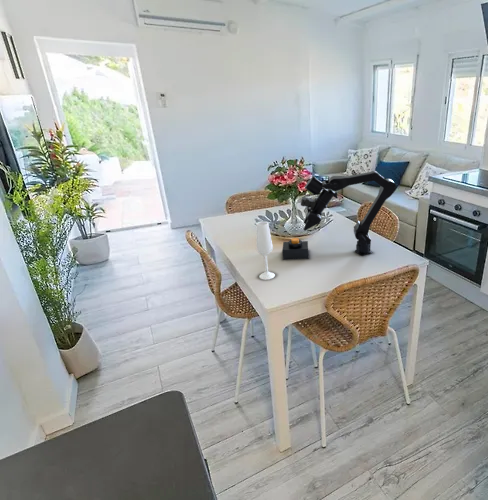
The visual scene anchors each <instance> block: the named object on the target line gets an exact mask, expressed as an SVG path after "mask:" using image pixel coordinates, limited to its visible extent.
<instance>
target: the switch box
mask: <svg viewBox="0 0 488 500" xmlns="http://www.w3.org/2000/svg"><path fill="white" fill-rule="evenodd" d="M281 251H282V260H283V261H289V260H290V261H291V260H309V258H310V257H309V241H308V240H302V239H299V243H297V244H293V243H292V241H291V239H290V240H288V241H283V243H282V250H281Z"/></svg>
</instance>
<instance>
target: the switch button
mask: <svg viewBox="0 0 488 500" xmlns="http://www.w3.org/2000/svg"><path fill="white" fill-rule="evenodd" d="M290 240H291V241H292V243H293V244H297V243H299V240H300V238H298V237H293V238H291V239H290Z"/></svg>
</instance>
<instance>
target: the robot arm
mask: <svg viewBox="0 0 488 500" xmlns="http://www.w3.org/2000/svg"><path fill="white" fill-rule="evenodd" d="M369 182H375V183H376V184H377V185H379V190H378V193H377V196H376V197H375V199H374V201H373V203H372V204H371V205H370V207H369V209H368V210H367V212H366V214H365V216H364V217H363V219H362V220H360V221H359V220H357V221H356V223H355V224H354V225H353V234H354V237H355V239H356V240H357V241H356V244H355V250H354V253H357V254H358V255H360V256H361V257H363V256H367V255H370V254H373V251H371V246H372V245H371V242H372V239H371V237H370V235H369V233H370V228H371V225H372V224H373V221H374V220H375V218H376V216H377V215H378V213H379V212H380V210H381V208H382V207H383V205H384V203H385V202H386V201H387V200H388V199H389V198H390V197H391V196H392V195H393V194H394V193H395V192H396V190H397V184H396V183H395V182H394V181H393V180H392V179H391V178H386V177H384V176H383V175H381V174H380V173H379V172H378V171H376V170H371V171H368V172H363V173H358V174H353V175H352V174H351V175H332V176H330V178H329V179H326V180H324V181H321V180H319V179H318V178H317V177H316V176H314V175H313V176H312V177H311V178H310V179H309V180H307V183H306V184H305V185H304V189H305V190H306V191H308V192H309V193H311V194H313V195H314V196H316V195H318V196H317V197H315V198H314V199H313V198H309V197H306V196H302V197H301V201H300V206H301V207H306V208H307V214H306V216H305V218H304V221H303V224H304V227H303V231H308V230H309V229H311V228H313V227H315V226H316V225H320V223H321V222H322V217H321V216H322V215H323V212H324V210H325V209H327V207H328V205H329V204H330V202H331V201H332V199H333V198H335V199H338V198H339V197H338V191H340V190H343V189H346V188H347V187H349V186H350V187H351V186H353V185H354V186H355V185H358V184H359V185H360V184H364V183H369Z"/></svg>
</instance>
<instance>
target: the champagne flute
mask: <svg viewBox="0 0 488 500" xmlns="http://www.w3.org/2000/svg"><path fill="white" fill-rule="evenodd" d="M255 224H256V225H255V226H256V228H255V229H256V230H255V231H256V232H255V234H256V235H255V236H256V239H255V241H256V242H255V243H256V245H255V246H256V251H257V253H259V255H261V256H263V259H264V260H263V262H264V272H262V273H261V274H259V279H260V280H272V279H274V278H275V277H276V274H275V273H274V272H271V271H269V266H268V256H269V255H270V254H271V253H272V251H273V249H274V246H273V242H272V236H271V235H272V234H271V230H270V224H269V222H268V221H266V220H265V221H264V220H263V221H258V222H256V223H255Z"/></svg>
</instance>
